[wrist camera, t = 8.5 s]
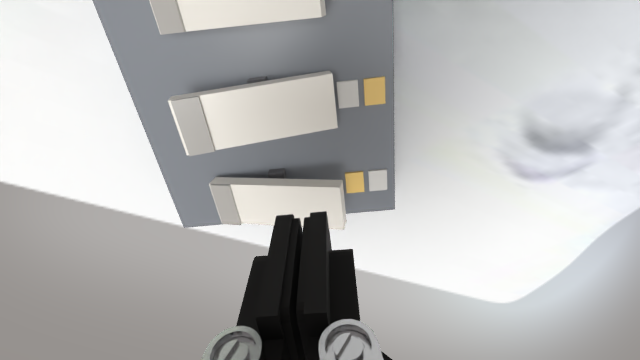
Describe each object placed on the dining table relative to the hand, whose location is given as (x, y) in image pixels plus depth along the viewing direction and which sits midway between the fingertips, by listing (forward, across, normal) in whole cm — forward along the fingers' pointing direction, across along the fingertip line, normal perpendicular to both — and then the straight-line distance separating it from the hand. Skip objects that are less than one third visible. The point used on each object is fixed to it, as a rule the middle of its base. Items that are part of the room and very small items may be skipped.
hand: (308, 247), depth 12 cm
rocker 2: (+12, +4, -1) cm, 13 cm away
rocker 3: (+12, +4, +6) cm, 14 cm away
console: (+19, +4, -1) cm, 20 cm away
